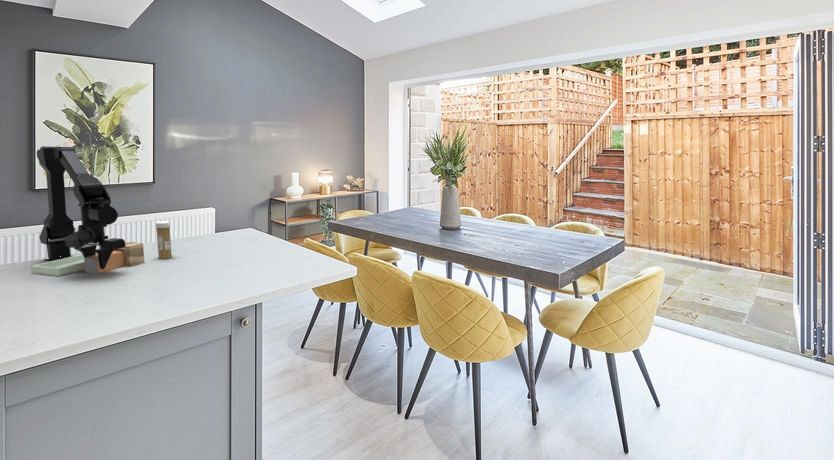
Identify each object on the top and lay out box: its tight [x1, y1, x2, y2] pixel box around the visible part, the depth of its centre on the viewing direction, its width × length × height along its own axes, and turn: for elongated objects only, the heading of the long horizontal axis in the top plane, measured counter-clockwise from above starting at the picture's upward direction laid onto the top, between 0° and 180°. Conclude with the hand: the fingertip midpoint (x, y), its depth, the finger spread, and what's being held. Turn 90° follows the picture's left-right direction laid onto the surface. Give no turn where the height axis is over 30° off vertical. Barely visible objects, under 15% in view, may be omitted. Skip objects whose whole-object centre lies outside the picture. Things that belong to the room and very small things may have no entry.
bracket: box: [115, 240, 145, 267], centre depth 161 cm, size 9×6×7 cm, turn 77°
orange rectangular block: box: [84, 249, 126, 275], centre depth 155 cm, size 4×14×5 cm, turn 167°
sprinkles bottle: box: [155, 220, 173, 260], centre depth 170 cm, size 5×5×14 cm
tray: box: [30, 253, 98, 277], centre depth 155 cm, size 11×22×2 cm, turn 167°
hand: (97, 268), depth 150 cm, fingers closed on orange rectangular block, 4 cm apart
